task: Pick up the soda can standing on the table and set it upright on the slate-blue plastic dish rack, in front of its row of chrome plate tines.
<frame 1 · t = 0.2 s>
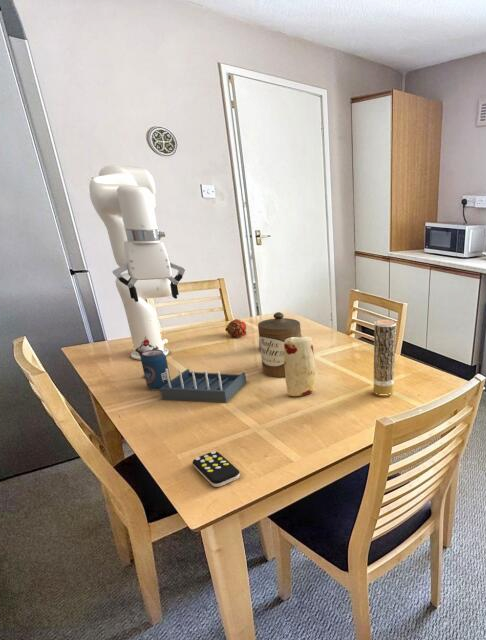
hand: (156, 299, 117), 31 cm above the table, tool pointing down, fingers open, 9 cm apart
wooden log: (383, 393, 140), on the table
food model: (301, 394, 136), on the table
food item: (277, 349, 175), on the table
dish rack: (206, 390, 135), on the table
sundae: (153, 376, 143), on the table
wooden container: (283, 370, 154), on the table
remote control: (216, 472, 96), on the table
soda can: (160, 387, 135), on the table
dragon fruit: (237, 336, 188), on the table
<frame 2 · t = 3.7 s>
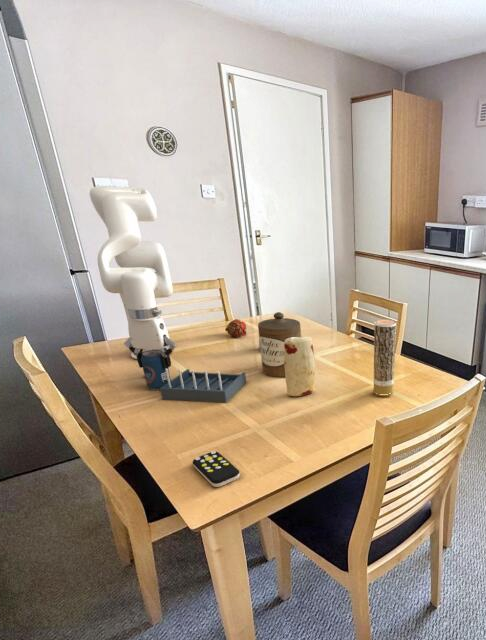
hand: (155, 366, 132), 7 cm above the table, tool pointing down, fingers closed on soda can, 7 cm apart
soda can: (159, 387, 135), on the table, touching gripper
everything else where it was.
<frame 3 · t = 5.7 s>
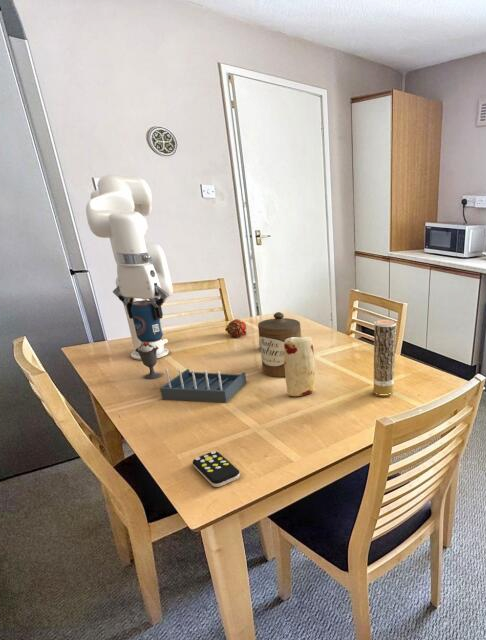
hand: (146, 317, 126), 23 cm above the table, tool pointing down, fingers closed on soda can, 7 cm apart
soda can: (151, 340, 129), point 16 cm above the table, touching gripper
everything else where it was.
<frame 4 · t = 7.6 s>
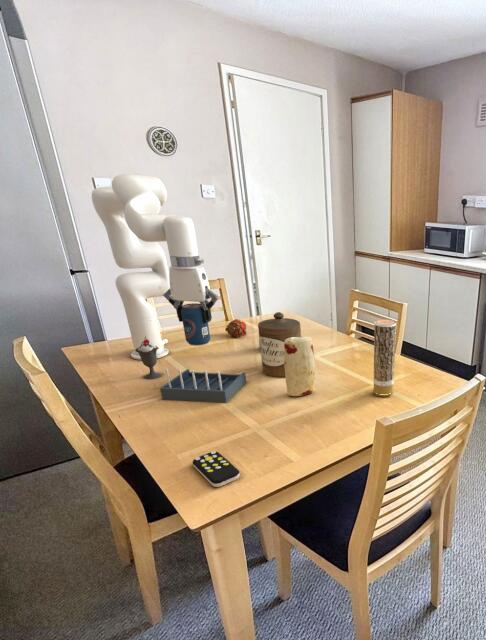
hand: (195, 320, 126), 23 cm above the table, tool pointing down, fingers closed on soda can, 7 cm apart
soda can: (199, 343, 129), point 16 cm above the table, touching gripper
everything else where it was.
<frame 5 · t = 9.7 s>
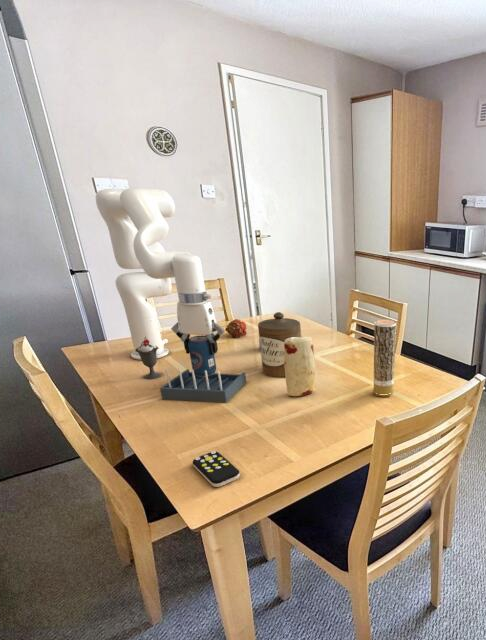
hand: (201, 352, 130), 13 cm above the table, tool pointing down, fingers closed on soda can, 7 cm apart
soda can: (205, 373, 133), point 6 cm above the table, touching gripper
everything else where it was.
when the fingers open (9 cm above the table, at t = 11.4 s): soda can stays where it is, resting on dish rack.
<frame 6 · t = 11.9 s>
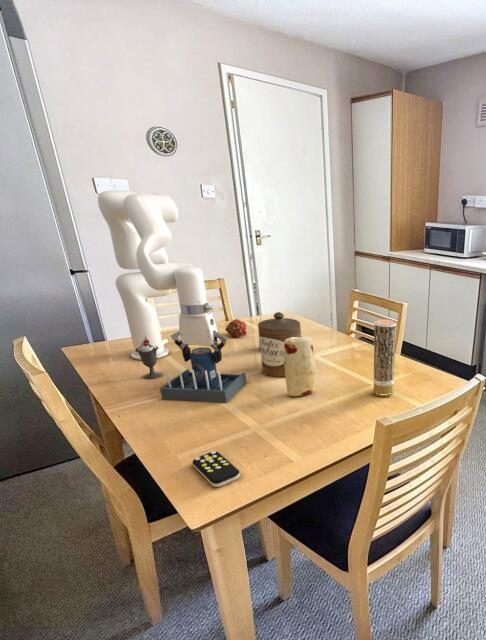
hand: (203, 361, 131), 10 cm above the table, tool pointing down, fingers open, 9 cm apart
soda can: (207, 385, 135), point 1 cm above the table, touching dish rack
everything else where it was.
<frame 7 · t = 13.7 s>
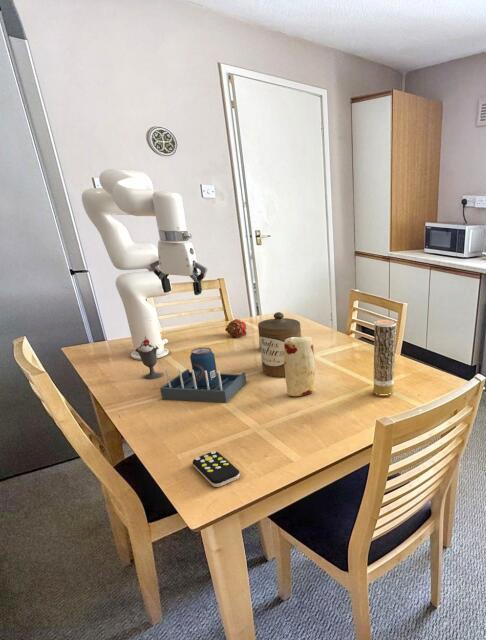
hand: (182, 293, 130), 30 cm above the table, tool pointing down, fingers open, 9 cm apart
nothing on the table moved.
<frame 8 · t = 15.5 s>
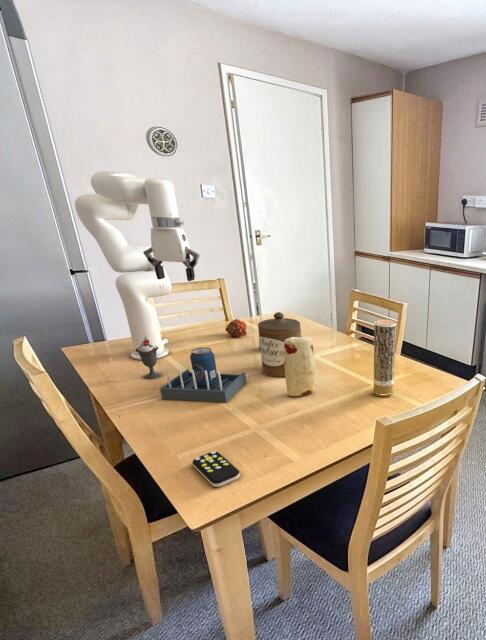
hand: (176, 279, 133), 33 cm above the table, tool pointing down, fingers open, 9 cm apart
nothing on the table moved.
at the end: soda can inside the target area on the dish rack (0.5 cm from its centre), point 1.4 cm above the dish rack's base; soda can tilted 0°; the gripper is holding nothing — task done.
